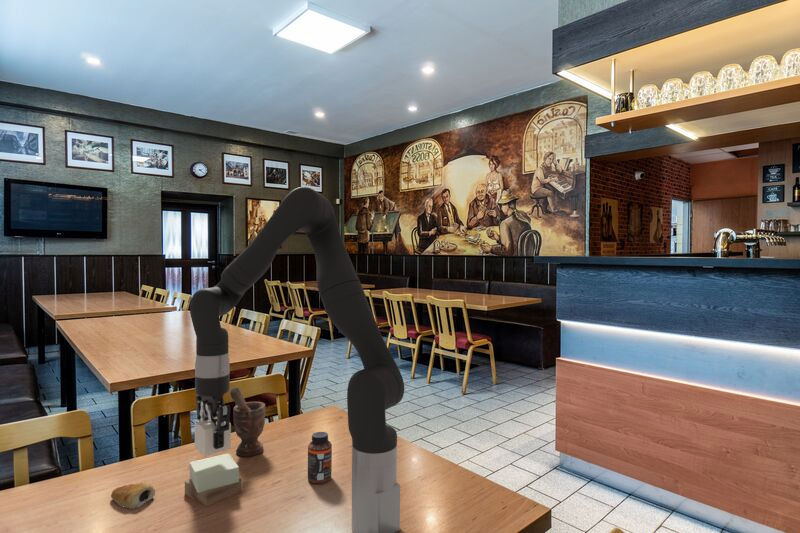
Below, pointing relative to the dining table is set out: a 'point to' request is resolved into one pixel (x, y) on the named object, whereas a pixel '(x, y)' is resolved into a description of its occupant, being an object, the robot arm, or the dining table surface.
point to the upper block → (214, 472)
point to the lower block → (212, 492)
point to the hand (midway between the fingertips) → (212, 443)
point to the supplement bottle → (319, 458)
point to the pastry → (133, 495)
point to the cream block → (209, 438)
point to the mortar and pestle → (248, 423)
